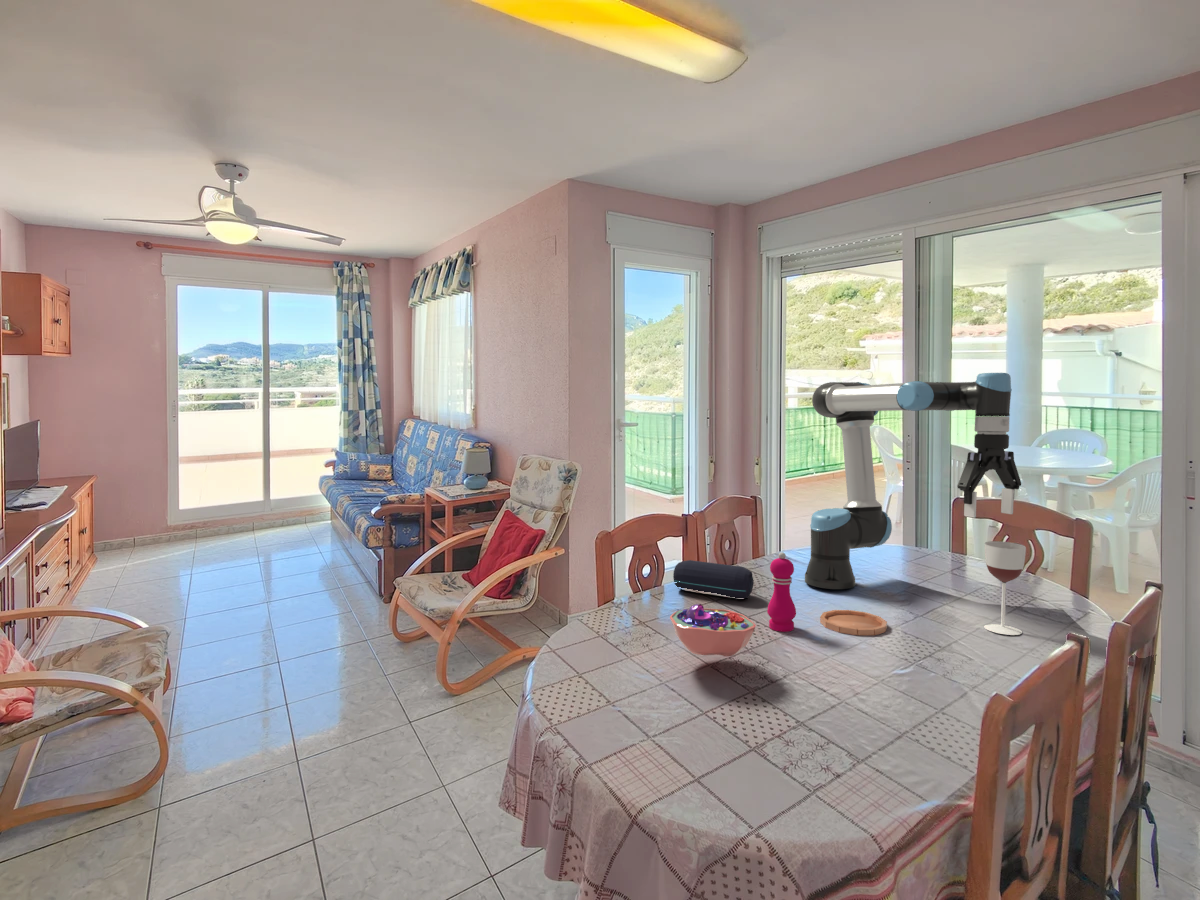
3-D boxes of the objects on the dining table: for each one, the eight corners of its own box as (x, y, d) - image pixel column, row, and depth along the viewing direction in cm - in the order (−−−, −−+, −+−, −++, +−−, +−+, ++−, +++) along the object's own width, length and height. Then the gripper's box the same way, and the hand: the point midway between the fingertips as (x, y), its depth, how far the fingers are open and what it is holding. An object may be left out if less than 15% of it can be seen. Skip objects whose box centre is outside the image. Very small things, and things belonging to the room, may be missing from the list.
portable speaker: (758, 597, 190) (758, 565, 189) (747, 605, 181) (747, 572, 181) (683, 586, 203) (683, 556, 203) (670, 593, 195) (670, 562, 194)
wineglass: (1016, 625, 163) (1019, 542, 161) (1028, 637, 153) (1031, 549, 152) (978, 621, 165) (980, 540, 164) (988, 633, 156) (990, 547, 155)
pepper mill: (797, 633, 157) (798, 555, 156) (768, 631, 159) (768, 554, 158) (794, 624, 164) (795, 550, 163) (766, 622, 166) (766, 549, 165)
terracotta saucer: (808, 621, 167) (808, 615, 167) (847, 611, 175) (847, 606, 174) (859, 639, 153) (859, 633, 153) (899, 628, 161) (899, 622, 161)
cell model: (740, 675, 132) (741, 623, 131) (657, 657, 143) (656, 608, 142) (764, 650, 146) (765, 603, 146) (687, 635, 157) (687, 591, 156)
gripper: (970, 434, 151) (967, 520, 152) (1039, 433, 160) (1036, 514, 161) (943, 433, 158) (940, 515, 159) (1011, 432, 167) (1008, 510, 168)
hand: (988, 515), depth 160 cm, fingers open, 13 cm apart
